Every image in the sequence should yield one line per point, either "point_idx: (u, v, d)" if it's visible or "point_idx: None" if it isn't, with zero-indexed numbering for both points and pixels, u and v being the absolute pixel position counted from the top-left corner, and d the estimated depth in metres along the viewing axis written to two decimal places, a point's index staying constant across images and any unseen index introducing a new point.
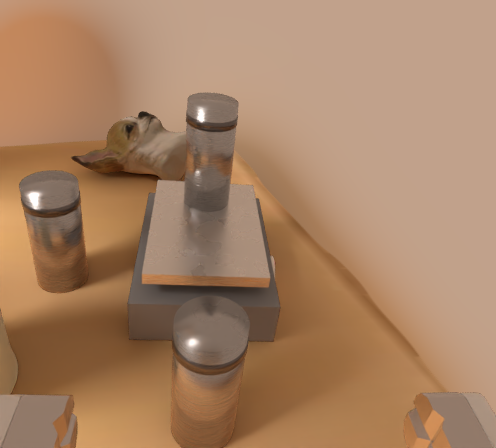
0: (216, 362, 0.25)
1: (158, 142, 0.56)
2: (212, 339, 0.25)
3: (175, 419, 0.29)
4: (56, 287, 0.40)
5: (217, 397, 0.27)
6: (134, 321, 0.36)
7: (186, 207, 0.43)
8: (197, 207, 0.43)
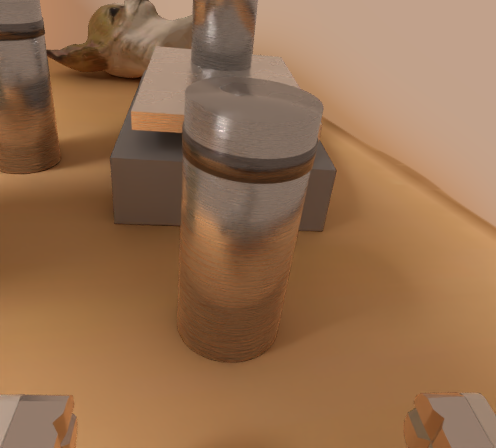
0: (267, 151, 0.13)
1: (150, 27, 0.44)
2: (260, 112, 0.13)
3: (185, 301, 0.17)
4: (12, 164, 0.28)
5: (262, 240, 0.15)
6: (121, 189, 0.24)
7: (194, 66, 0.32)
8: (210, 64, 0.31)
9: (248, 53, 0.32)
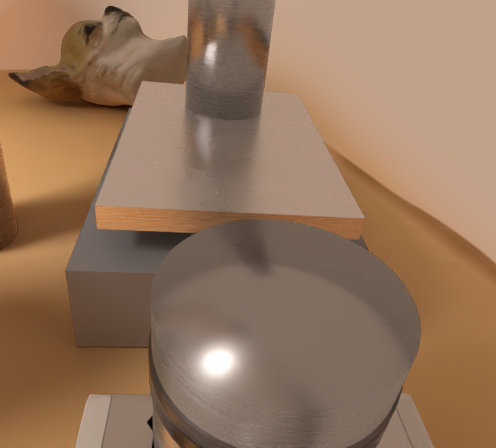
0: (319, 446, 0.06)
1: (131, 49, 0.37)
2: (303, 357, 0.06)
3: None
4: None
5: None
6: (84, 308, 0.17)
7: (189, 113, 0.25)
8: (209, 111, 0.24)
9: (258, 97, 0.25)
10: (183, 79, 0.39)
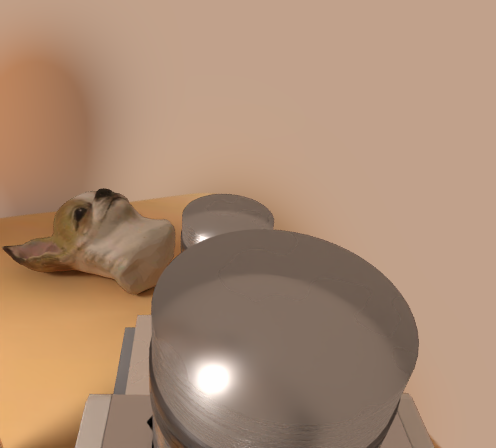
0: None
1: (119, 237, 0.37)
2: (302, 369, 0.06)
3: None
4: None
5: None
6: None
7: None
8: None
9: None
10: (171, 258, 0.39)
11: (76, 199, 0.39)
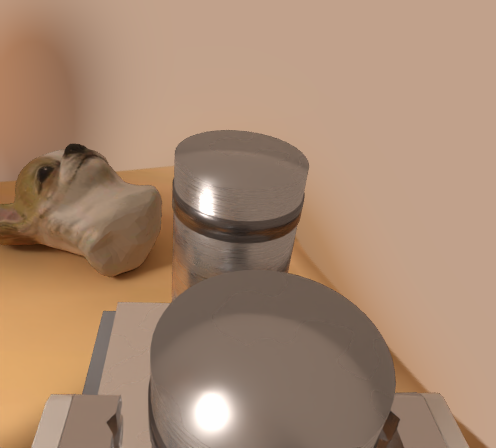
0: None
1: (90, 203, 0.30)
2: (287, 414, 0.07)
3: None
4: None
5: None
6: None
7: None
8: None
9: None
10: (156, 233, 0.31)
11: (43, 157, 0.32)
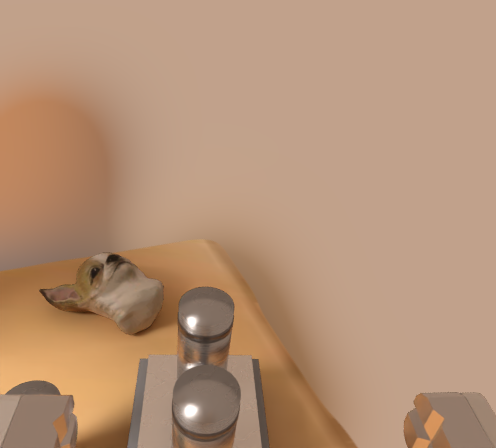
0: (211, 431, 0.28)
1: (120, 293, 0.51)
2: (208, 411, 0.28)
3: None
4: None
5: None
6: None
7: None
8: None
9: None
10: (159, 309, 0.52)
11: (93, 260, 0.53)
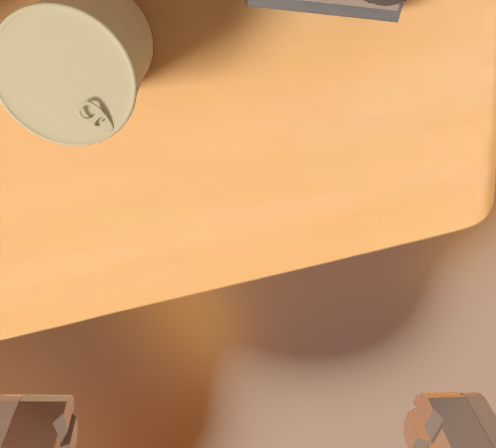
0: None
1: None
2: None
3: None
4: None
5: None
6: None
7: None
8: None
9: None
10: None
11: None
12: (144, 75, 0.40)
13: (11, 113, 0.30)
